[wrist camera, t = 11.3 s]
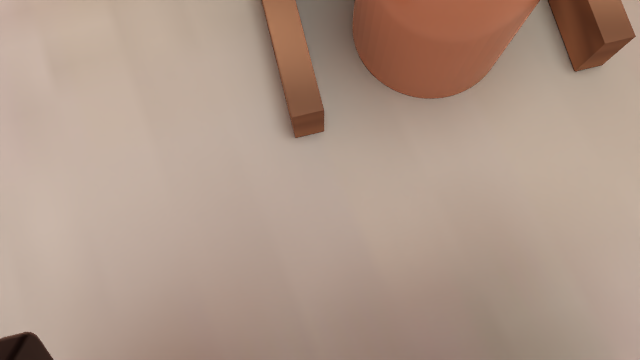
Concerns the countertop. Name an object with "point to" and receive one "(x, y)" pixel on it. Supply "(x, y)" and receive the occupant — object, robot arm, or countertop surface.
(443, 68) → the jar
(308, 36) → the countertop surface
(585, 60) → the brown wooden frame
